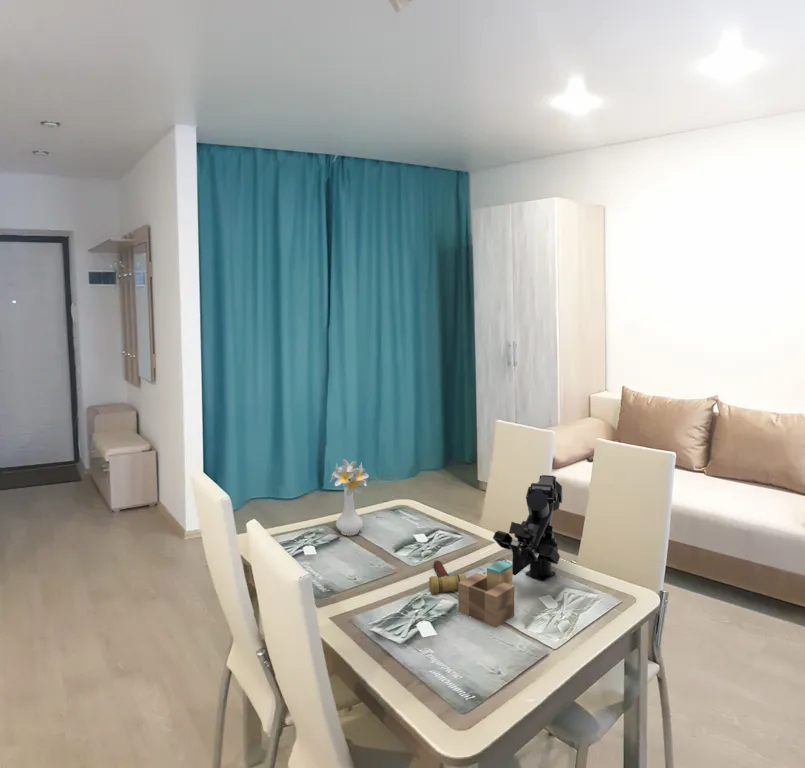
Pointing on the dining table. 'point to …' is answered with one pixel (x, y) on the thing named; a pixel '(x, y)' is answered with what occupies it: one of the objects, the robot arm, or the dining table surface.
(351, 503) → the flower vase
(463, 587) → the socket block
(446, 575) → the gavel
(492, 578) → the block
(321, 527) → the dining table surface
